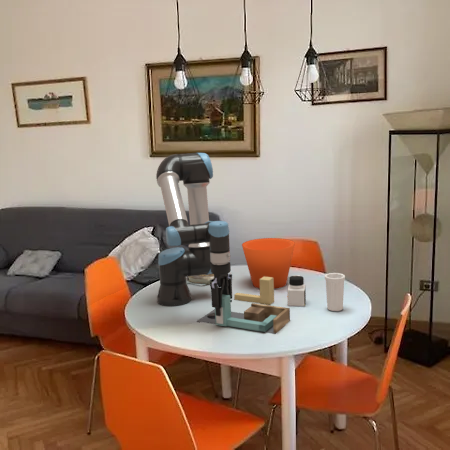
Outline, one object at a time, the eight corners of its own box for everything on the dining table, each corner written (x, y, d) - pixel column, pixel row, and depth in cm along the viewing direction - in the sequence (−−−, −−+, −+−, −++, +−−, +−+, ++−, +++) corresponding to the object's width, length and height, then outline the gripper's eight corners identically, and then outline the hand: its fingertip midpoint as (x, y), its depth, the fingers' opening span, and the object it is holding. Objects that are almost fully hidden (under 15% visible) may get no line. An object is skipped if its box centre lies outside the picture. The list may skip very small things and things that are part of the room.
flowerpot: (296, 276, 264) (295, 237, 261) (295, 292, 240) (294, 249, 236) (246, 276, 268) (244, 238, 264) (240, 292, 244) (239, 250, 240)
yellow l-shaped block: (274, 301, 229) (273, 277, 227) (269, 305, 225) (269, 280, 223) (238, 297, 237) (237, 273, 235) (233, 300, 233) (232, 276, 231)
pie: (169, 281, 268) (168, 271, 267) (205, 269, 288) (204, 260, 288) (211, 290, 250) (210, 280, 249) (246, 276, 271) (245, 267, 270)
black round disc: (204, 318, 213) (204, 317, 213) (211, 313, 218) (211, 312, 218) (217, 320, 210) (217, 319, 210) (224, 315, 216) (224, 314, 215)
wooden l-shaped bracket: (238, 327, 202) (237, 314, 201) (252, 316, 213) (252, 303, 212) (276, 334, 194) (276, 319, 193) (290, 321, 206) (289, 308, 205)
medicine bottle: (304, 306, 221) (304, 278, 219) (287, 306, 223) (287, 278, 221) (305, 300, 228) (305, 274, 226) (289, 300, 230) (288, 273, 227)
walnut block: (244, 323, 205) (243, 311, 204) (251, 318, 210) (250, 306, 209) (258, 326, 202) (258, 313, 201) (265, 320, 207) (264, 308, 206)
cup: (332, 304, 222) (332, 271, 219) (349, 308, 217) (349, 275, 214) (321, 309, 217) (320, 276, 214) (337, 314, 211) (337, 279, 208)
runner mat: (196, 322, 210) (196, 321, 210) (214, 310, 222) (214, 309, 222) (275, 335, 194) (275, 333, 194) (290, 321, 206) (290, 320, 206)
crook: (215, 324, 204) (214, 297, 201) (230, 314, 214) (228, 288, 212) (264, 332, 194) (263, 304, 192) (277, 321, 204) (276, 294, 202)
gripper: (217, 269, 190) (220, 330, 195) (239, 257, 205) (242, 314, 210) (199, 267, 194) (203, 327, 198) (222, 255, 209) (225, 311, 214)
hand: (223, 320), depth 204 cm, fingers closed on crook, 4 cm apart
